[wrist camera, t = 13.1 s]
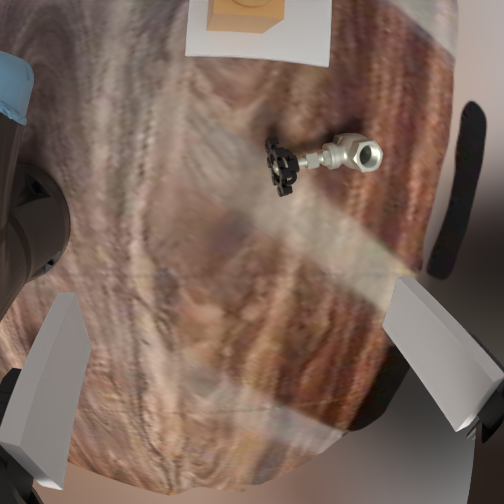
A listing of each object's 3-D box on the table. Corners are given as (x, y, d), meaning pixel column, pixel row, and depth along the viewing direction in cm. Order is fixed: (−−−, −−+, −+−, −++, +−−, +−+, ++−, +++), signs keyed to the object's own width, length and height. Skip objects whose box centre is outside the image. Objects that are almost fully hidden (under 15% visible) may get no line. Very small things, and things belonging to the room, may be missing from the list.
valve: (354, 118, 36) (261, 136, 35) (382, 124, 30) (275, 143, 29) (360, 168, 39) (272, 189, 38) (387, 181, 33) (287, 206, 32)
